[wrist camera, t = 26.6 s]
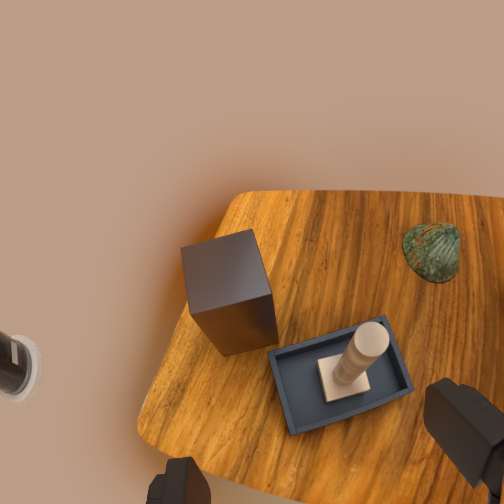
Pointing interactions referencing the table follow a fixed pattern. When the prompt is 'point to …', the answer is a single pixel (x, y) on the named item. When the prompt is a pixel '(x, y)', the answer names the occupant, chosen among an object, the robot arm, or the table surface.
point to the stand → (230, 293)
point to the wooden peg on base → (352, 363)
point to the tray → (308, 386)
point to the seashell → (433, 250)
